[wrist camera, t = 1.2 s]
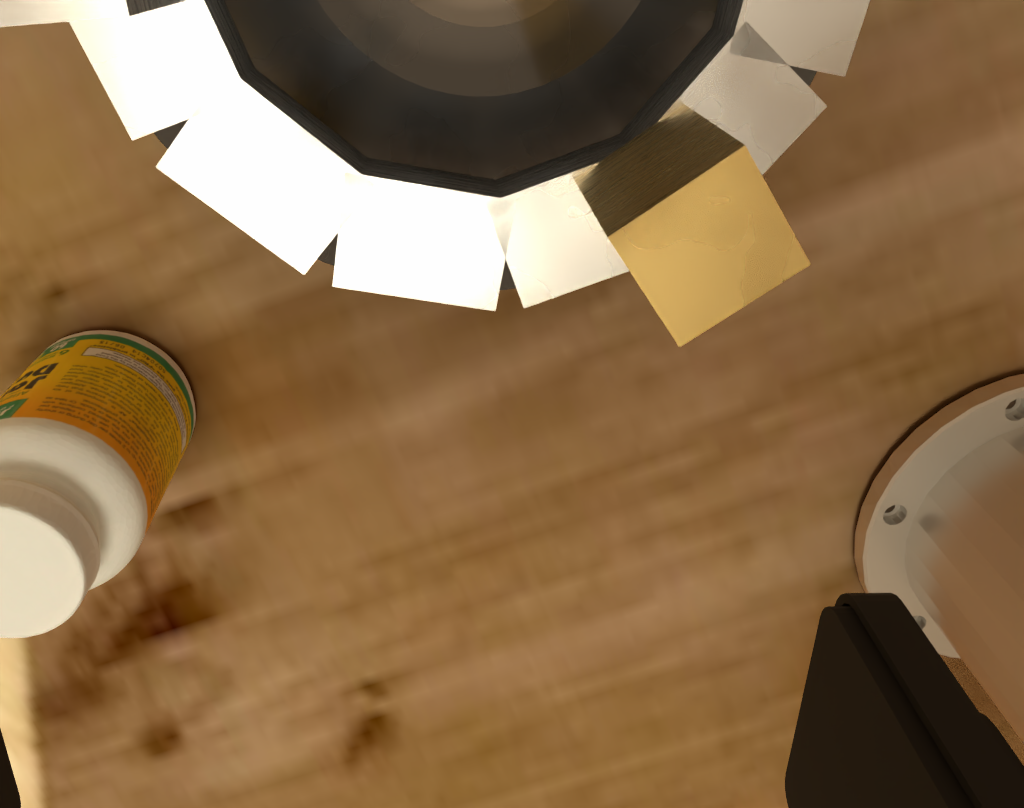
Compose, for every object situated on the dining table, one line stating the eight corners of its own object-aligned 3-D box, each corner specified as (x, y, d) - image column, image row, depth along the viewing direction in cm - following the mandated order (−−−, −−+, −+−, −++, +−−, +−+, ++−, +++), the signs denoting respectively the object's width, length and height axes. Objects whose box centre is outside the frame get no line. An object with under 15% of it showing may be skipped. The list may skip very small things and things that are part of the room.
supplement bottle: (151, 494, 33) (52, 694, 24) (2, 417, 31) (-162, 602, 22) (230, 381, 31) (153, 552, 22) (77, 291, 29) (-71, 440, 21)
